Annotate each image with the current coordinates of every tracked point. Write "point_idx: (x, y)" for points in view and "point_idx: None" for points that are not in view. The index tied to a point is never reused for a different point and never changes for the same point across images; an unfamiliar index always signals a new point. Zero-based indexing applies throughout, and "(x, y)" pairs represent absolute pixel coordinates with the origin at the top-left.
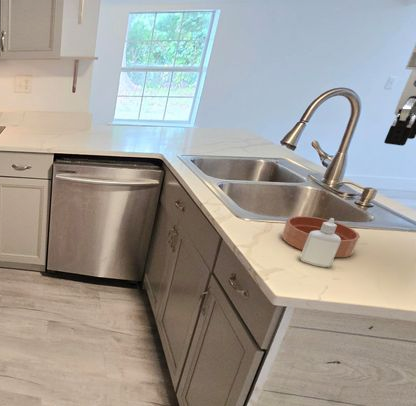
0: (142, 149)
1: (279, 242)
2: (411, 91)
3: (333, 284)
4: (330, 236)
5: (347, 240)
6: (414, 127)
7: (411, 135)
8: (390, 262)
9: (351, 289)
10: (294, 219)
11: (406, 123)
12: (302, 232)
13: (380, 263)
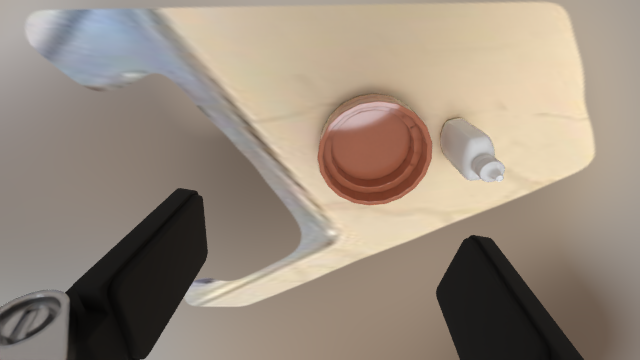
0: None
1: None
2: None
3: (526, 107)
4: (494, 154)
5: (416, 118)
6: (154, 262)
7: (194, 215)
8: (367, 34)
9: (532, 83)
10: (349, 194)
11: None
12: (420, 180)
13: (385, 49)
